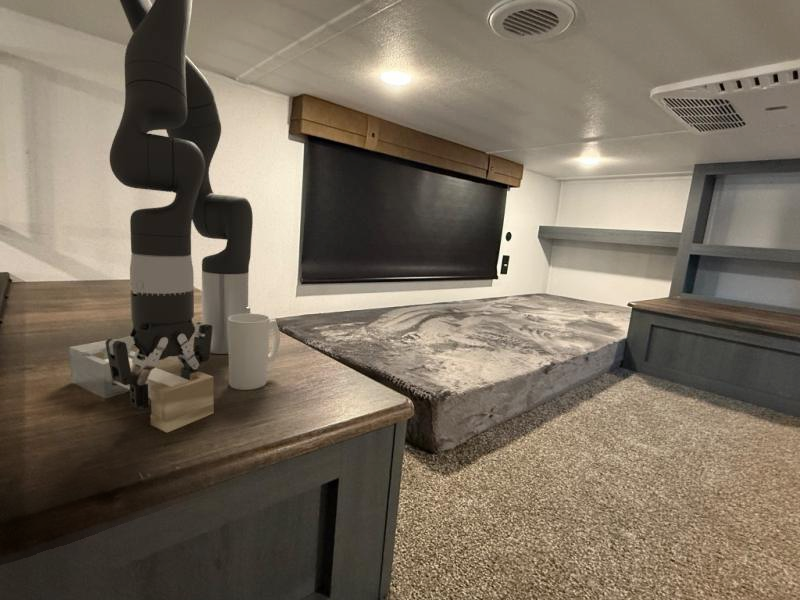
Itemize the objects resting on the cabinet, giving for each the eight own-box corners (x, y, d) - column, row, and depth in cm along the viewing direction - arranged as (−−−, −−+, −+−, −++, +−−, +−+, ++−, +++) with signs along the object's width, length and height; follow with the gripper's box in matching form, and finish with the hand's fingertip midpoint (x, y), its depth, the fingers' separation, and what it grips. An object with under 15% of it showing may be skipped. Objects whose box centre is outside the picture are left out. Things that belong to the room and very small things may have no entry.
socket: (150, 424, 53) (149, 385, 52) (198, 406, 59) (197, 371, 58) (167, 432, 51) (166, 392, 50) (213, 413, 58) (213, 376, 57)
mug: (242, 394, 65) (243, 324, 62) (219, 383, 68) (219, 316, 66) (290, 378, 73) (292, 316, 71) (267, 369, 76) (268, 309, 74)
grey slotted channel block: (71, 382, 64) (69, 347, 63) (111, 372, 69) (109, 339, 68) (105, 398, 59) (103, 360, 58) (144, 386, 64) (143, 351, 63)
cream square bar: (103, 378, 61) (102, 360, 61) (124, 372, 64) (123, 355, 64) (174, 409, 53) (174, 389, 53) (194, 402, 56) (194, 382, 56)
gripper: (193, 279, 62) (194, 378, 65) (88, 287, 49) (95, 410, 52) (225, 286, 59) (225, 390, 61) (121, 296, 46) (127, 427, 49)
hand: (165, 399), depth 57 cm, fingers open, 6 cm apart
